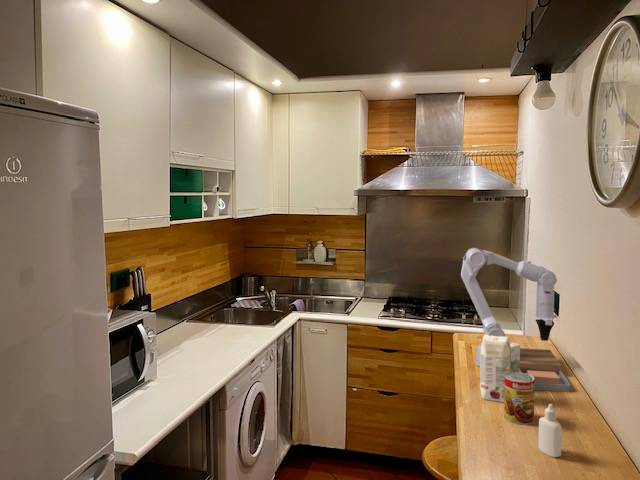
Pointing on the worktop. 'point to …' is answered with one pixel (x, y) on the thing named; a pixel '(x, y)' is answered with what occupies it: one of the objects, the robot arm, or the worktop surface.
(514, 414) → the canned food
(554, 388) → the tray
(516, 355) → the syrup box
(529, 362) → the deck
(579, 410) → the worktop surface
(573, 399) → the worktop surface
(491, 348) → the juice carton
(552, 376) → the tile
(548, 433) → the eye dropper bottle
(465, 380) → the worktop surface
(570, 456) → the worktop surface
